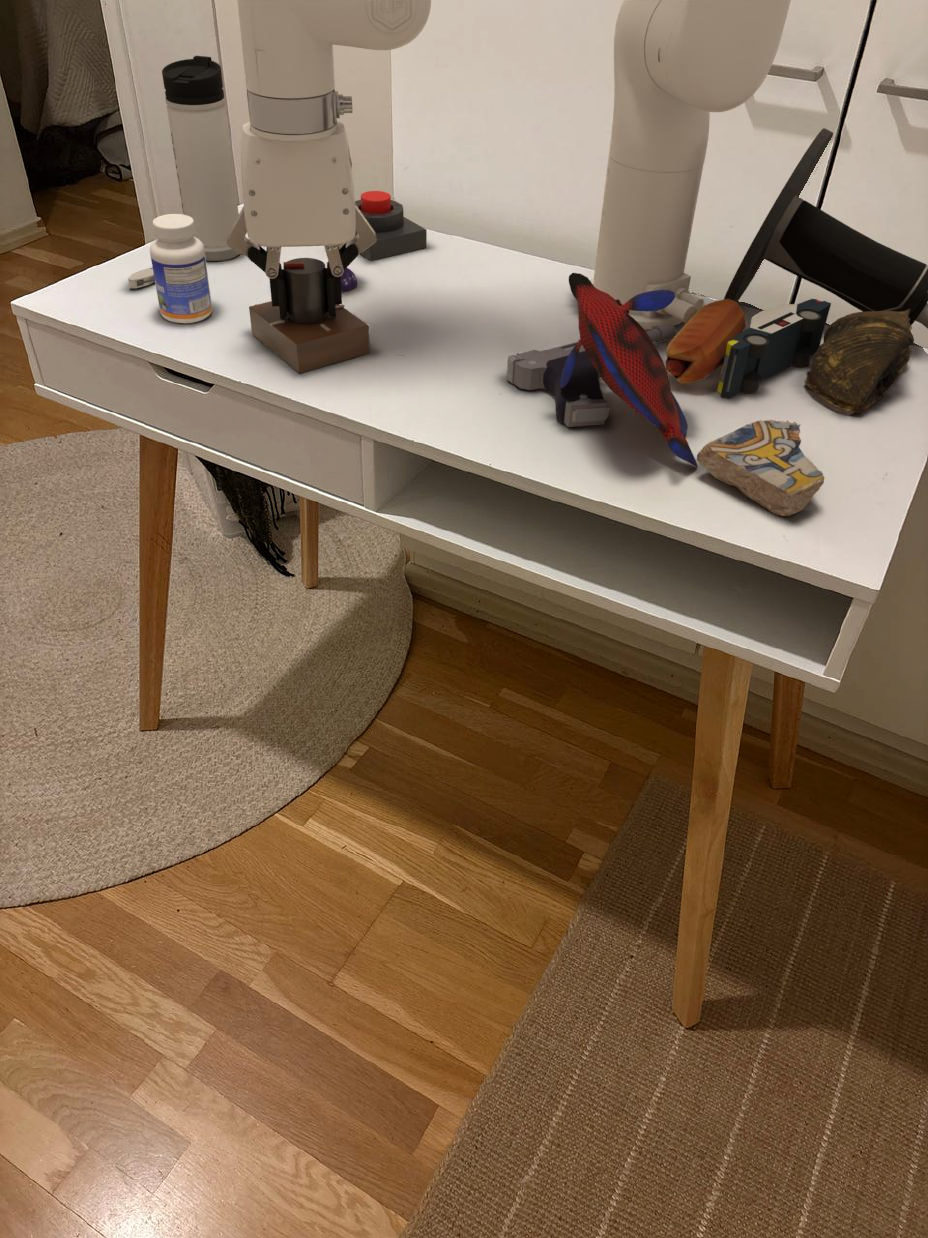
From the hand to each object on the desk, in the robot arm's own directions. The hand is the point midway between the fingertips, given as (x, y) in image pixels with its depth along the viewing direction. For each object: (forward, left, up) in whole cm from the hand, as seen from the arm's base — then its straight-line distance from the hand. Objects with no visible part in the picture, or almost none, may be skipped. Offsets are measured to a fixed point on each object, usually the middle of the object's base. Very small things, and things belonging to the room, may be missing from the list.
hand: (307, 309), depth 99 cm
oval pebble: (+23, +7, -4) cm, 24 cm away
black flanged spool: (-18, -46, +6) cm, 50 cm away
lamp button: (+20, -21, 0) cm, 29 cm away
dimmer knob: (0, 0, -1) cm, 1 cm away
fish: (-31, -10, +6) cm, 33 cm away
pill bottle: (+13, +7, -4) cm, 15 cm away
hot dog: (-27, -32, +1) cm, 42 cm away
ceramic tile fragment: (-45, -24, -2) cm, 51 cm away
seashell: (-36, -42, -4) cm, 56 cm away
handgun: (-29, -21, -2) cm, 36 cm away
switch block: (+20, -21, -4) cm, 29 cm away
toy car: (-32, -36, -1) cm, 48 cm away
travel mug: (+27, -3, -4) cm, 27 cm away
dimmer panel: (0, 0, -4) cm, 4 cm away
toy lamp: (+11, -10, -4) cm, 15 cm away
